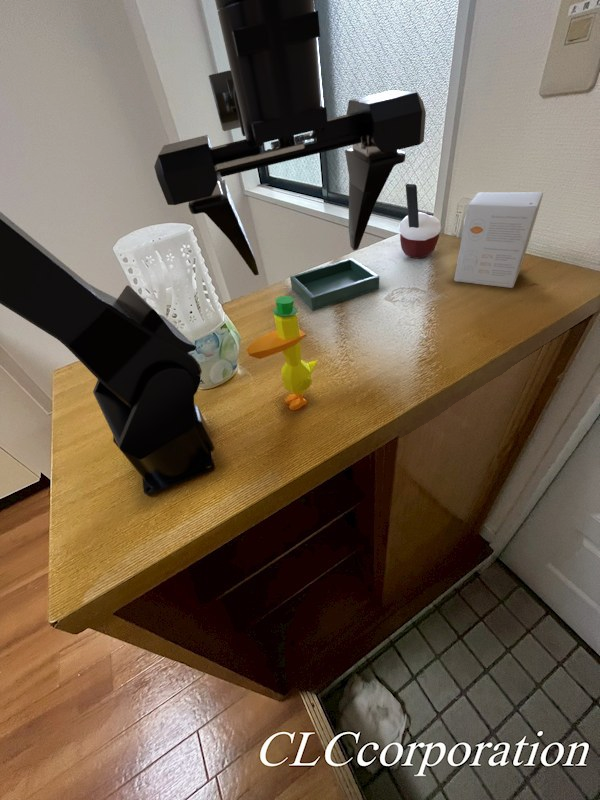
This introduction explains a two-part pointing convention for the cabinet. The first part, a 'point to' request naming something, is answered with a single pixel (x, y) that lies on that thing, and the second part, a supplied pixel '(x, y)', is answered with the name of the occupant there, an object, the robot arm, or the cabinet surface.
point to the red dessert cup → (418, 228)
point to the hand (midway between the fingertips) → (305, 260)
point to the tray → (334, 283)
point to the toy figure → (287, 351)
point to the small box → (496, 237)
